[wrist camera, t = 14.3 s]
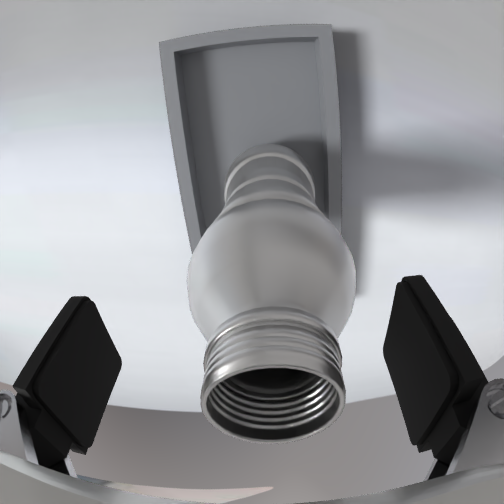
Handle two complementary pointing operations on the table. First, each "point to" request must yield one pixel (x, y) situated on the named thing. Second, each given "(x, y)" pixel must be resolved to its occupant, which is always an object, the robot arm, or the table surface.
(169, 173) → the table surface
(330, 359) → the plastic bottle
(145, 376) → the table surface
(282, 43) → the grey rectangular tray
